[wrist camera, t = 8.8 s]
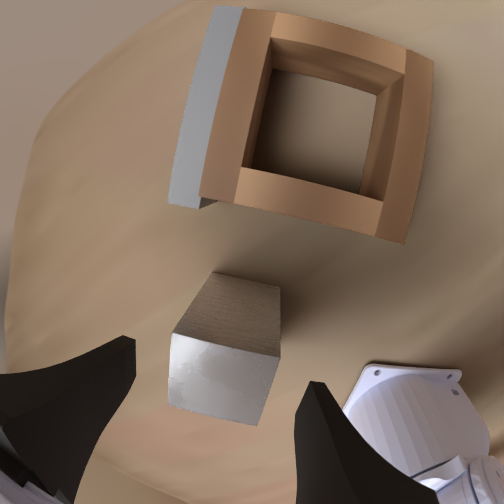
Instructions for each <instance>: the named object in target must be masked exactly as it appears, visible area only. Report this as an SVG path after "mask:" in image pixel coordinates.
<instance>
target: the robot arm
mask: <svg viewBox="0 0 504 504" xmlns="http://www.w3.org/2000/svg"><path fill="white" fill-rule="evenodd" d="M377 370H379V371H378V372H375V371H377ZM461 376H462V372H461V371H460V370H459V369H433V368H416V367H403V366H392V365H381V364H368V365H367V366H365V368H364V369H363V371H362V373H361V375H360V377H359V379H358V381H357V383H356V385H355V387H354V389H353V391H352V393H351V394H350V396H349V398H348V400H347V402H346V404H345V405H344V407H343V409H341V408H340V406H339V405H338V403H337V402H336V400H335V399H334V397H333V396H332V394H331V392H330V391H329V389H328V388H327V386H326V385H325V383H322V382H314V381H310V382H309V385H308V387H307V389H306V391H305V394H304V396H303V398H302V400H301V403H300V405H299V407H298V409H297V411H296V414H295V426H294V441H295V455H296V469H297V496H296V504H504V465H503V464H502V463H501V462H500V461H499V460H498V459H497V458H496V457H494V456H488V453H489V447H490V436H489V431H488V428H487V426H486V424H485V422H484V421H483V419H482V417H481V416H480V414H479V413H478V411H477V410H476V408H475V407H474V405H473V404H472V402H471V401H470V399H469V398H468V396H467V395H466V394H465V392H464V391H463V389H462V388H461V386H460V385H459V384H458V381H459V380H460V378H461ZM135 377H136V340H135V339H132V338H129V337H126V336H124V335H122V336H120V337H118V338H116V339H114V340H112V341H110V342H108V343H106V344H104V345H102V346H100V347H98V348H96V349H93V350H91V351H89V352H87V353H85V354H83V355H80V356H78V357H75V358H73V359H71V360H68V361H66V362H63V363H60V364H57V365H54V366H50V367H47V368H43V369H38V370H33V371H27V372H21V373H12V374H0V504H74V500H75V497H76V493H77V490H78V487H79V484H80V481H81V478H82V476H83V473H84V470H85V468H86V465H87V463H88V460H89V458H90V456H91V454H92V451H93V449H94V447H95V445H96V443H97V441H98V439H99V437H100V435H101V433H102V432H103V430H104V428H105V427H106V425H107V424H108V422H109V421H110V419H111V418H112V416H113V415H114V413H115V412H116V411H117V409H118V408H119V406H120V405H121V403H122V402H123V400H124V399H125V397H126V395H127V394H128V392H129V390H130V388H131V386H132V384H133V382H134V380H135Z"/></svg>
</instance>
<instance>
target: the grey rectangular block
mask: <svg viewBox="0 0 504 504" xmlns="http://www.w3.org/2000/svg"><path fill="white" fill-rule="evenodd" d="M279 361H280V287H278V286H273V285H268V284H264V283H259V282H255V281H250V280H245V279H241V278H237V277H232V276H228V275H223V274H219V273H215V272H212V273H211V275H210V276H209V278H208V279H207V281H206V282H205V284H204V285H203V287H202V288H201V290H200V291H199V293H198V294H197V296H196V297H195V299H194V300H193V302H192V303H191V305H190V306H189V308H188V309H187V311H186V312H185V314H184V315H183V317H182V318H181V320H180V321H179V323H178V324H177V326H176V327H175V329H174V330H173V332H172V338H171V352H170V368H169V388H168V405H171V406H174V407H178V408H181V409H185V410H188V411H192V412H195V413H199V414H203V415H207V416H211V417H215V418H219V419H224V420H228V421H233V422H238V423H243V424H248V425H254V426H257V425H258V422H259V419H260V416H261V414H262V411H263V408H264V405H265V402H266V399H267V397H268V394H269V391H270V388H271V385H272V382H273V379H274V376H275V373H276V370H277V367H278V364H279Z"/></svg>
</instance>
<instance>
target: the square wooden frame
mask: <svg viewBox="0 0 504 504" xmlns="http://www.w3.org/2000/svg"><path fill="white" fill-rule="evenodd" d="M433 67H434V61H432V60H430V59H428V58H426V57H424V56H422V55H420V54H417V53H415V52H413V51H411V50H408V49H406V48H404V47H401V46H399V45H396V44H394V43H391V42H389V41H386V40H384V39H381V38H378V37H375V36H372V35H370V34H367V33H364V32H360V31H357V30H354V29H351V28H347V27H344V26H340V25H337V24H333V23H329V22H325V21H321V20H316V19H312V18H307V17H302V16H297V15H292V14H286V13H279V12H273V11H265V10H256V9H246V8H243V10H242V13H241V17H240V20H239V23H238V27H237V30H236V34H235V37H234V41H233V44H232V48H231V51H230V55H229V59H228V62H227V66H226V70H225V74H224V78H223V82H222V86H221V90H220V94H219V98H218V102H217V107H216V111H215V115H214V120H213V124H212V129H211V133H210V138H209V143H208V148H207V152H206V157H205V162H204V168H203V173H202V178H201V183H200V189H199V194H198V196H199V197H204V198H209V199H214V200H219V201H224V202H229V203H234V204H239V205H244V206H248V207H253V208H258V209H262V210H267V211H272V212H276V213H281V214H285V215H289V216H294V217H298V218H302V219H307V220H311V221H315V222H319V223H323V224H327V225H331V226H335V227H340V228H343V229H347V230H351V231H355V232H359V233H363V234H367V235H371V236H374V237H378V238H382V239H386V240H389V241H393V242H396V243H400V244H404V243H405V239H406V236H407V232H408V228H409V225H410V221H411V217H412V213H413V209H414V205H415V200H416V196H417V192H418V187H419V182H420V177H421V172H422V167H423V161H424V155H425V149H426V143H427V136H428V128H429V120H430V111H431V101H432V87H433ZM272 68H273V69H279V70H284V71H289V72H294V73H299V74H303V75H308V76H312V77H316V78H320V79H324V80H328V81H332V82H335V83H339V84H342V85H346V86H349V87H353V88H356V89H359V90H362V91H365V92H368V93H371V94H374V95H377V99H376V105H375V112H374V118H373V124H372V130H371V136H370V141H369V146H368V152H367V157H366V162H365V167H364V171H363V176H362V181H361V185H360V189H359V194H354V193H351V192H347V191H343V190H340V189H336V188H332V187H328V186H324V185H320V184H316V183H312V182H308V181H304V180H300V179H296V178H291V177H287V176H283V175H278V174H273V173H269V172H264V171H259V170H254V169H251V164H252V159H253V155H254V150H255V145H256V141H257V136H258V131H259V127H260V122H261V117H262V113H263V108H264V104H265V99H266V95H267V90H268V86H269V81H270V77H271V73H272Z"/></svg>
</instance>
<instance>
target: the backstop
mask: <svg viewBox="0 0 504 504" xmlns="http://www.w3.org/2000/svg"><path fill="white" fill-rule="evenodd" d="M243 8H246V7H234V6H215V7H214V10H213V13H212V16H211V19H210V22H209V25H208V28H207V31H206V34H205V37H204V41H203V44H202V47H201V51H200V54H199V57H198V61H197V64H196V68H195V72H194V75H193V79H192V83H191V87H190V91H189V95H188V99H187V103H186V107H185V111H184V115H183V120H182V124H181V129H180V134H179V138H178V143H177V148H176V153H175V159H174V164H173V169H172V175H171V181H170V187H169V193H168V199H167V203H170V204H175V205H180V206H185V207H190V208H195V209H201V208H203V207H205V206H208V205H210V204H212V203H215V202H216V200H214V199H209V198H204V197H199V196H198V194H199V189H200V183H201V178H202V173H203V168H204V162H205V157H206V152H207V148H208V143H209V138H210V133H211V129H212V124H213V120H214V115H215V111H216V107H217V102H218V98H219V94H220V90H221V86H222V82H223V78H224V74H225V70H226V66H227V62H228V59H229V55H230V51H231V48H232V44H233V41H234V37H235V34H236V30H237V27H238V23H239V20H240V17H241V13H242V10H243Z"/></svg>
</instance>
